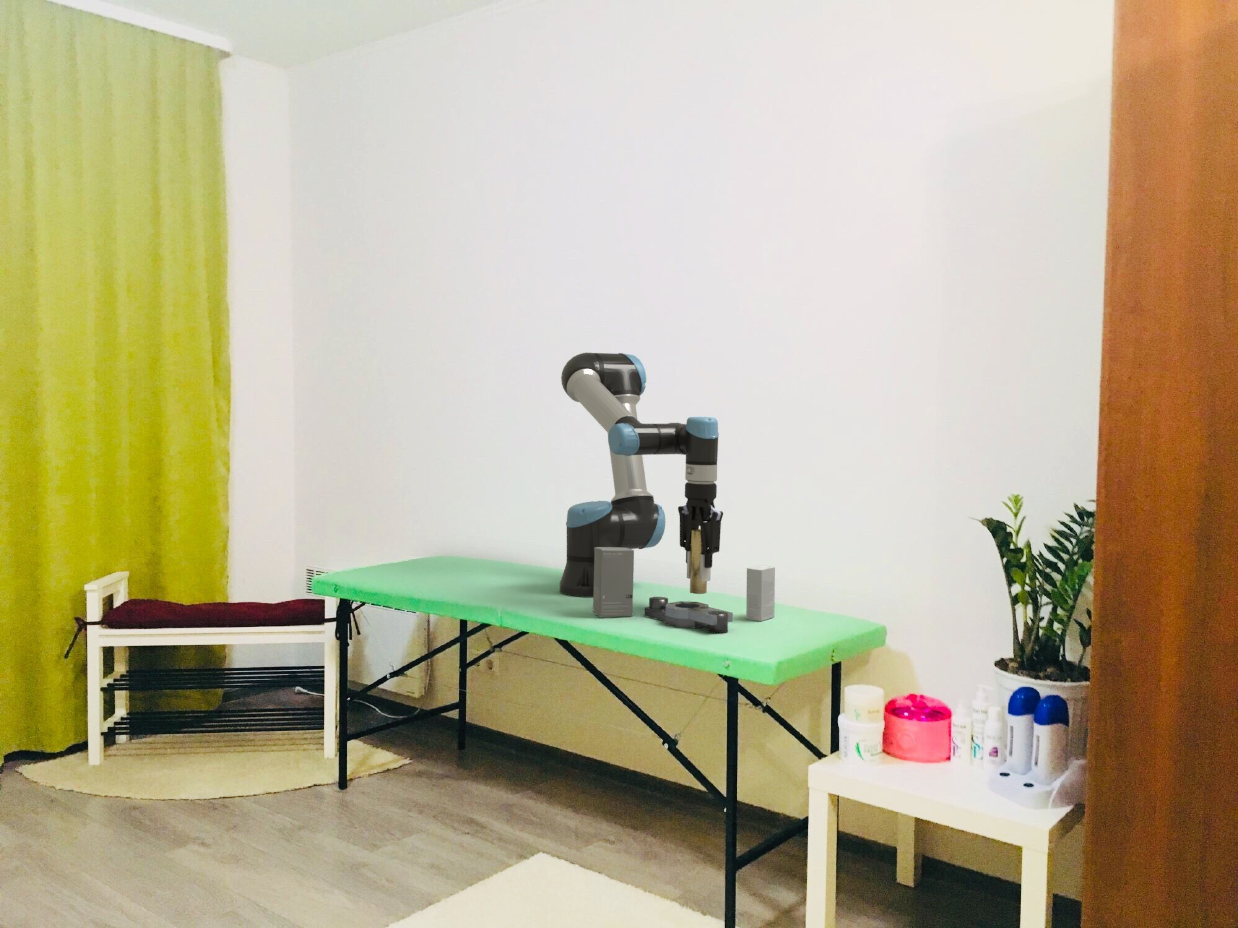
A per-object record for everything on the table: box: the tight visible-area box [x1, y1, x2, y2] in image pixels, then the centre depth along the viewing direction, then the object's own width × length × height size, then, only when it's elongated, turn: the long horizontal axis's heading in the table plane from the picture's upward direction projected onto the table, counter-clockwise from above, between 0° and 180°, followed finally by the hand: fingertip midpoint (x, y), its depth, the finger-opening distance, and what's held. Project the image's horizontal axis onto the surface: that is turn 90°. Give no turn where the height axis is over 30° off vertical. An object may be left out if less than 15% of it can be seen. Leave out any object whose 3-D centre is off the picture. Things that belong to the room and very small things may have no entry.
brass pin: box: [689, 528, 708, 595], centre depth 244 cm, size 4×4×15 cm
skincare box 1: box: [592, 547, 635, 619], centre depth 239 cm, size 8×7×16 cm
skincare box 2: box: [746, 564, 776, 622], centre depth 237 cm, size 6×4×12 cm
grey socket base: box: [644, 596, 734, 635], centre depth 231 cm, size 24×10×4 cm, turn 38°
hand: (698, 579), depth 245 cm, fingers closed on brass pin, 4 cm apart
